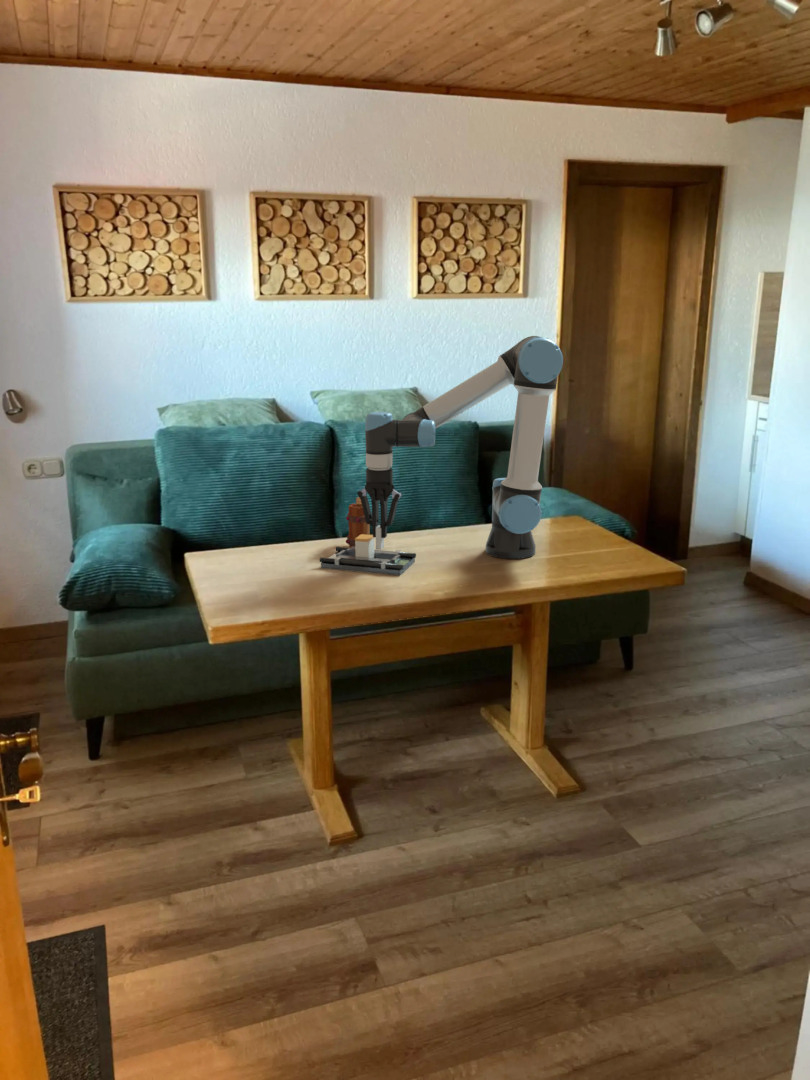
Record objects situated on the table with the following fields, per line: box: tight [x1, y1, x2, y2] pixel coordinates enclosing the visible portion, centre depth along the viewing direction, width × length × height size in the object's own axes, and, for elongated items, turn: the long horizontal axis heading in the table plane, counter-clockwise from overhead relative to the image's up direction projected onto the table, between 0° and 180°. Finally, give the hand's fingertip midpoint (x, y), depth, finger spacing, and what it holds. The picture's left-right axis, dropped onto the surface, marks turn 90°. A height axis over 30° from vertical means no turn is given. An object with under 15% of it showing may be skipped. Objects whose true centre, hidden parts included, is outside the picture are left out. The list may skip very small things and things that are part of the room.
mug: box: [345, 496, 372, 548], centre depth 266 cm, size 15×8×15 cm, turn 179°
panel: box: [319, 546, 417, 577], centre depth 249 cm, size 25×14×3 cm, turn 72°
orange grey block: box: [355, 534, 375, 558], centre depth 249 cm, size 4×5×7 cm
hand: (379, 548), depth 247 cm, fingers closed
